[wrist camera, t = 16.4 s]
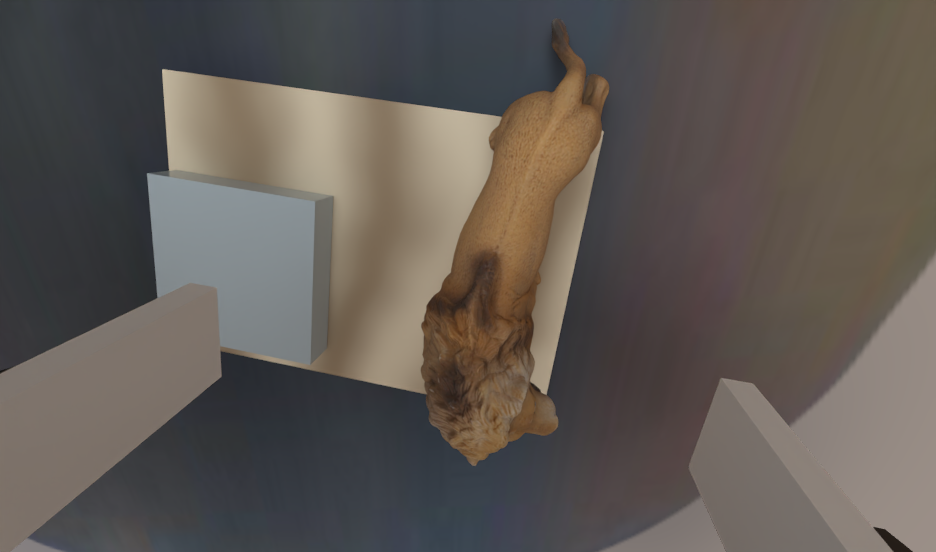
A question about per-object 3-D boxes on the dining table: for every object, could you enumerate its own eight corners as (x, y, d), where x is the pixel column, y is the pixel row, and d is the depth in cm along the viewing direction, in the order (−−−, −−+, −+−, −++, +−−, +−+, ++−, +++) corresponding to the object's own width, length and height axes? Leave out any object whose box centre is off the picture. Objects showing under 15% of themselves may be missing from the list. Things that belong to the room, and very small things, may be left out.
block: (178, 169, 23) (187, 319, 25) (147, 173, 21) (160, 333, 23) (333, 195, 22) (327, 347, 24) (315, 201, 20) (310, 364, 22)
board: (193, 335, 27) (181, 342, 26) (178, 71, 22) (161, 69, 21) (541, 407, 24) (541, 418, 23) (601, 131, 20) (603, 131, 19)
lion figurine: (549, 364, 23) (551, 506, 14) (443, 343, 23) (383, 467, 15) (622, 30, 18) (691, -60, 9) (486, 14, 18) (436, -85, 10)
